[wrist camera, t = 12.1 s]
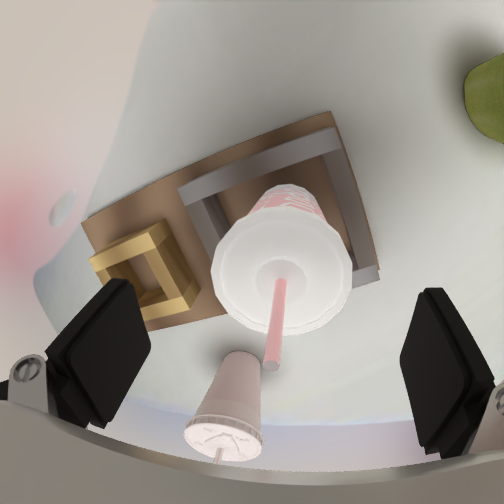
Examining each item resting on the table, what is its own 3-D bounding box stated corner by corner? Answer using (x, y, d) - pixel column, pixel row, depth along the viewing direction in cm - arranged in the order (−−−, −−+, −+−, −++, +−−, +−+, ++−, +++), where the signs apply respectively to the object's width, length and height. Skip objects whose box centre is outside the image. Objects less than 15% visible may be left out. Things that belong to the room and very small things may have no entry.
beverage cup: (348, 200, 20) (420, 333, 7) (303, 270, 22) (301, 439, 10) (269, 156, 19) (215, 226, 7) (229, 231, 22) (148, 376, 9)
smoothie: (206, 374, 30) (165, 487, 18) (217, 332, 28) (168, 462, 15) (263, 391, 30) (243, 508, 18) (283, 351, 27) (266, 488, 15)
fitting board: (328, 111, 19) (336, 108, 15) (376, 262, 23) (389, 289, 19) (88, 218, 25) (59, 235, 21) (148, 325, 29) (130, 352, 25)
